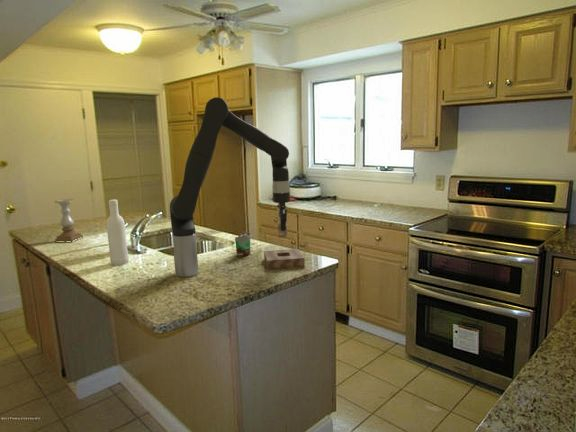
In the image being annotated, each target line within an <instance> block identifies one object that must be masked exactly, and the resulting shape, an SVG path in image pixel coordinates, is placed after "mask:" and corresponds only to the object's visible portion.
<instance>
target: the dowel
mask: <svg viewBox="0 0 576 432" xmlns="http://www.w3.org/2000/svg"><path fill="white" fill-rule="evenodd" d="M277 212H278V210H277ZM280 215H281V214H280ZM282 219H284V217H282ZM277 233H278V234H277V235H278V236H277V237H278V238H288V221H287V222H286V230H285V231H281V224H280V217H279V213H278V214H277Z"/></svg>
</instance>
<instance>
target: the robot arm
mask: <svg viewBox="0 0 576 432" xmlns="http://www.w3.org/2000/svg"><path fill="white" fill-rule="evenodd" d="M221 127H224V128H226V129H228V130H230V131H231V132H233V133H235V134H236V135H237V136H239V137H241V138H242V139H244V140H245V141H246V142H248V143H250V144H251V145H252V146H253V147H255V148H257V149H258V150H260V151H262V152H265V153H266V154H267V155H268V156H270V159H271V167H272V168H271V169H272V186H271V187H272V202H273V203H276V204H277V205H276V209H277V210H278V212H277V215H278V213H279V217H280V224H281V231H285V230H286V222H287V223H288V218H287V217H288V207H287V205H286V203H290V201H291V191H290V190H291V188H290V186H291V185H290V181H289V180H290V175H289V174H290V173H289V168H288V162H287V159H288V158H289V155H290V151H289V149H288V147H287V146H285V145H284V144H283V143H281V142H279V141H277V140H276V139H274V138H272V137H271V136H270V135H269V134H267V133H266V132H264V131H263V130H261V129H260V128H258V127H256V126H254V125H253V124H250V123H249V122H246V121H245V120H243V119H242V118H239V117H238V116H237V115H235V114H234V113H233V112H232V111H231V110H230V109H229V106H228V103H227V102H226V101H225V99H223V98H222V97H219V96H216V97H212V98H211V99H209V100H208V101H207V102H206V104H205V108H204V115H203V119H202V121H201V125H200V128H199V131H198V132H197V134H196V137H195V139H194V140H193V144H192V145H191V148H190V150H189V153H188V156H187V158H186V162H185V168H184V173H183V181H182V184H181V188H180V190H179V192H178V194H177V196H174V197H173V198H172V199H170V200H171V201H170V203H169V215H170V224H171V226H170V227H171V230H172V231H171V232H172V238H173V239H172V240H173V242H172V243H173V251H174V252H173V262H174V275H175V277H180V278H188V277H189V278H190V277H194V276H195V275H198V274H199V262H198V261H199V260H198V248H197V247H198V246H197V245H198V244H197V234H196V226H195V223H194V214H195V212H196V207H197V202H198V198H199V195H200V191H201V188H202V185H203V183H204V181H205V179H206V175H207V173H208V170H209V168H210V165H211V163H212V159H213V157H214V153H215V149H216V144H217V142H218V141H217V139H218V136H219V133H220V130H221ZM280 214H281V215H280ZM282 217H284V219H282Z"/></svg>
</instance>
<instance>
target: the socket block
mask: <svg viewBox="0 0 576 432" xmlns="http://www.w3.org/2000/svg"><path fill="white" fill-rule="evenodd" d="M263 257H264V263H265V265H266V267H267V268H266V269H267V270H270V271H271V270H281V269H282V270H283V269H295V268H305V257H304V255H303V254H302V252H301V251H300V249H299V248H289V249H274V250H264V251H263Z"/></svg>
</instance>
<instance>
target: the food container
mask: <svg viewBox="0 0 576 432" xmlns="http://www.w3.org/2000/svg"><path fill="white" fill-rule="evenodd" d="M252 237H253V236H252V234H251V232H248V231H242V233H241V234H239V235H238V236H235V237H234V242H235V248H236V249H235V251H236V257H237V258H240V257H241V258H242V257H247V256H249V255H251V239H252Z"/></svg>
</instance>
